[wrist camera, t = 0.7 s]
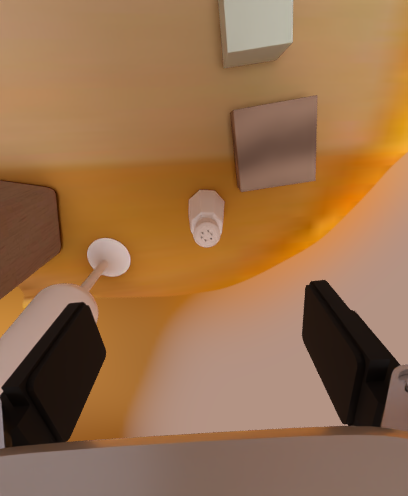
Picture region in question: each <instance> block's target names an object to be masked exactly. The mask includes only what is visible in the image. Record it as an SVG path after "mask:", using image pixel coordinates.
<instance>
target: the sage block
mask: <svg viewBox="0 0 408 496" xmlns="http://www.w3.org/2000/svg"><path fill="white" fill-rule="evenodd" d="M218 6H219V18H220V30H221V43H222V55H223V68H230V67H236V66H243V65H249V64H256V63H262V62H268V61H275V60H277V59H278V58H279V57H280V55H281V54H282V53H283V52H284V51H285V50H286V49H287V48H288V47H289V46H290V45H291V44H292V42H293V0H218Z"/></svg>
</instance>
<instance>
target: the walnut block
mask: <svg viewBox="0 0 408 496" xmlns="http://www.w3.org/2000/svg"><path fill="white" fill-rule="evenodd" d="M230 115H231V125H232V135H233V145H234V155H235V165H236V175H237V185H238V188H239V189H240V191H241V192H244V191H251V190H257V189H264V188H270V187H277V186H283V185H290V184H296V183H303V182H309V181H315V173H316V129H317V95H316V96H310V97H305V98H299V99H293V100H288V101H282V102H276V103H271V104H265V105H260V106H254V107H248V108H243V109H237V110H233V111H232V112H231V113H230Z"/></svg>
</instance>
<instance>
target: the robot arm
mask: <svg viewBox="0 0 408 496" xmlns="http://www.w3.org/2000/svg"><path fill="white" fill-rule="evenodd" d="M302 337H303V341H304V344H305V346H306V348H307V350H308V352H309V354H310V357H311V359H312V361H313V363H314V365H315V367H316V369H317V371H318V374H319V376H320V378H321V379H322V382H323V384H324V386H325V388H326V390H327V393H328V395H329V397H330V399H331V401H332V403H333V405H334V407H335V409H336V411H337V414H338V416H339V418H340V420H341V422H342V423H343V424H348V426H330V427H304V428H284V429H267V430H266V429H265V430H248V431H230V432H213V433H198V434H182V435H165V436H149V437H133V438H119V439H105V440H89V441H75V442H66V441H68V439H69V438H70V436H71V434H72V432H73V430H74V427H75V425H76V423H77V421H78V418H79V416H80V414H81V412H82V409H83V407H84V405H85V403H86V400H87V398H88V396H89V394H90V391H91V389H92V387H93V385H94V382H95V380H96V378H97V376H98V373H99V371H100V368H101V367H102V364H103V362H104V360H105V357H106V350H105V347H104V344H103V341H102V338H101V336H100V333H99V331H98V328H97V325H96V322H95V320H94V317H93V314H92V312H91V309H90V307H89V305H86V304H85V303H84V302H76V303H69V304H68V305H67V306H66V307H65V308H64V310H63V311H62V312H61V313H60V315H59V316H58V317H57V318H56V320H55V321H54V322H53V323H52V325H51V326H50V327H49V328H48V330H47V331H46V332H45V333H44V335H43V336H42V337H41V338H40V340H39V341H38V342H37V343H36V345H35V346H34V347H33V348H32V350H31V351H30V352H29V353H28V355H27V356H26V357H25V358H24V360H23V361H22V362H21V363H20V365H19V366H18V367H17V368H16V370H15V371H14V372H13V373H12V375H11V376H10V377H9V378H8V380H7V381H6V382H5V383H4V385H3V386H2V387H1V389H2V390H3V392H2V394H1V395H0V496H408V365H400V364H399V363H398V362H397V360H396V359H395V358H394V357H393V356H392V354H391V353H390V352H389V351H388V350H387V348H386V347H385V346H384V345H383V344H382V343H381V341H380V340H379V339H378V338H377V337H376V336H375V334H374V333H373V332H372V331H371V330H370V328H368V326H367V325H366V324H365V322H364V321H363V320H362V319H361V318H360V317H359V315H358V314H357V313H356V312H355V311H353V310H350V309H349V308H348V307H347V305H346V304H345V303H344V302H343V300H342V299H341V298H340V297H339V295H338V294H337V293H336V292H335V291H334V290H333V288H332V287H331V286H330V285H329V283H328V282H327V281H325V280H320V281H311V282H310V284H309V285H306V288H305V300H304V315H303V329H302Z"/></svg>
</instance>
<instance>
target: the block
mask: <svg viewBox="0 0 408 496" xmlns="http://www.w3.org/2000/svg"><path fill="white" fill-rule="evenodd" d="M60 249H61V242H60V232H59V221H58V211H57V201H56V194H55V191H54V190H52V189H50V188H48V187H42V186H35V185H28V184H21V183H14V182H6V181H0V299H1V298H3V297H4V296H5V295H7V294H8V293H9V292H10V291H12V290H13V289H14V288H15V287H17V286H18V285H19V284H20V283H22V282H23V281H24V280H25V279H27V278H28V277H29V276H30V275H32V274H33V273H34V272H35V271H37V270H38V269H39V268H40V267H42V266H43V265H44V264H46V263H47V262H48V261H49V260H51V259H52V258H53V257H54V256H56V255H57V254H58V253H59V252H60Z"/></svg>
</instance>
